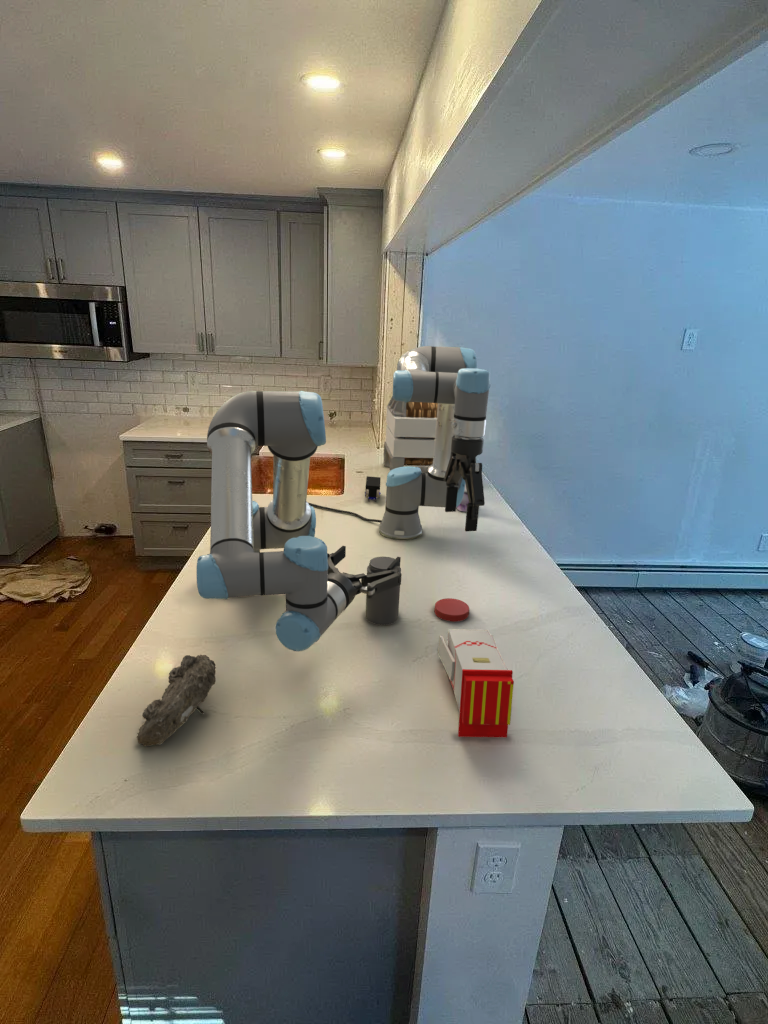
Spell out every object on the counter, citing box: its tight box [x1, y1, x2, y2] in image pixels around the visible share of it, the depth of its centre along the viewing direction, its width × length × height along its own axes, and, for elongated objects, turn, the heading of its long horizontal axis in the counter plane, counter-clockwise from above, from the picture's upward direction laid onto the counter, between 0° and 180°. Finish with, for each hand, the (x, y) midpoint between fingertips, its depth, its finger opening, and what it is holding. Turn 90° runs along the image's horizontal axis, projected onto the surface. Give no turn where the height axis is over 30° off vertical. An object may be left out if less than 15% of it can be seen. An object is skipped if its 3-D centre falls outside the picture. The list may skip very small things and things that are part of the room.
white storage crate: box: [383, 395, 438, 472], centre depth 268 cm, size 34×33×41 cm
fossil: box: [136, 654, 217, 747], centre depth 108 cm, size 22×10×15 cm
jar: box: [365, 556, 402, 626], centre depth 143 cm, size 8×8×15 cm
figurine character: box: [364, 475, 381, 503], centre depth 235 cm, size 7×8×15 cm
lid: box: [433, 597, 470, 623], centre depth 149 cm, size 9×9×2 cm
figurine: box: [456, 484, 469, 513], centre depth 226 cm, size 9×10×15 cm
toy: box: [437, 628, 515, 738], centre depth 117 cm, size 12×13×30 cm
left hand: (371, 556), depth 131 cm, fingers open, 13 cm apart
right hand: (460, 520), depth 141 cm, fingers open, 13 cm apart
